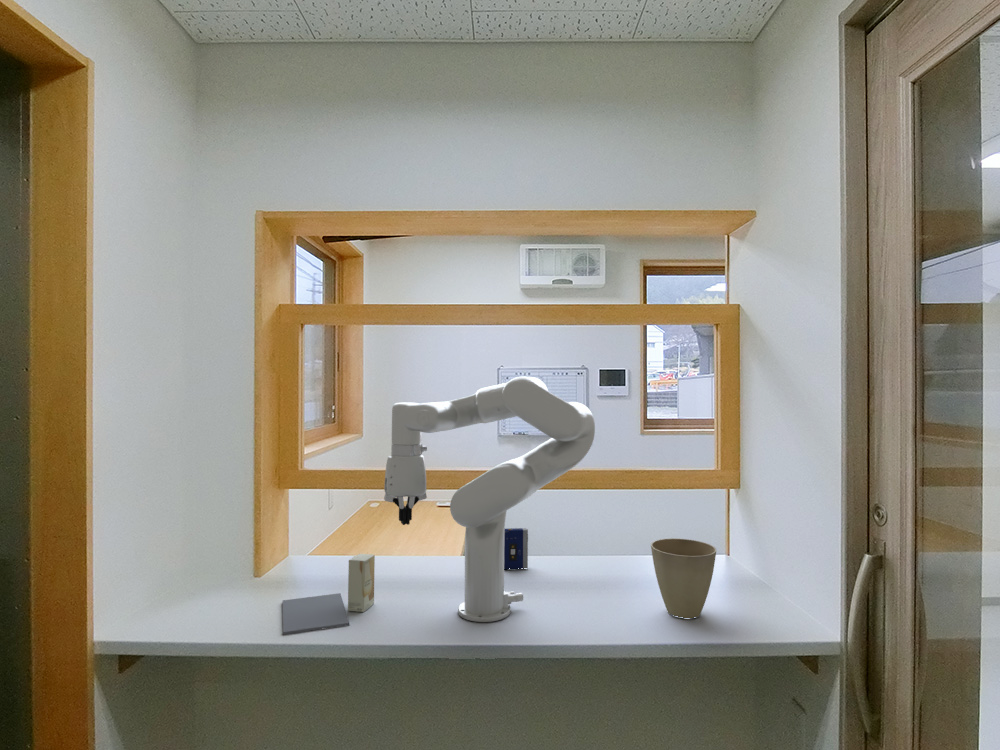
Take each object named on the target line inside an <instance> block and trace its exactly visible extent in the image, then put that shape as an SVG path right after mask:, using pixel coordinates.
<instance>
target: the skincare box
mask: <svg viewBox="0 0 1000 750" xmlns="http://www.w3.org/2000/svg"><path fill="white" fill-rule="evenodd" d="M375 567H376V565H375V554H368V553H359V554H357V555H355V556H353V557H352V558H350V559H348V579H347V581H348V584H347V585H348V586H347V587H348V588H347V591H348V592H347V611H349V612H358V613H359V612H360V613H364V612H366V611H367V610H368V609H369V608H371V607H372V605H374V604H375Z"/></svg>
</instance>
